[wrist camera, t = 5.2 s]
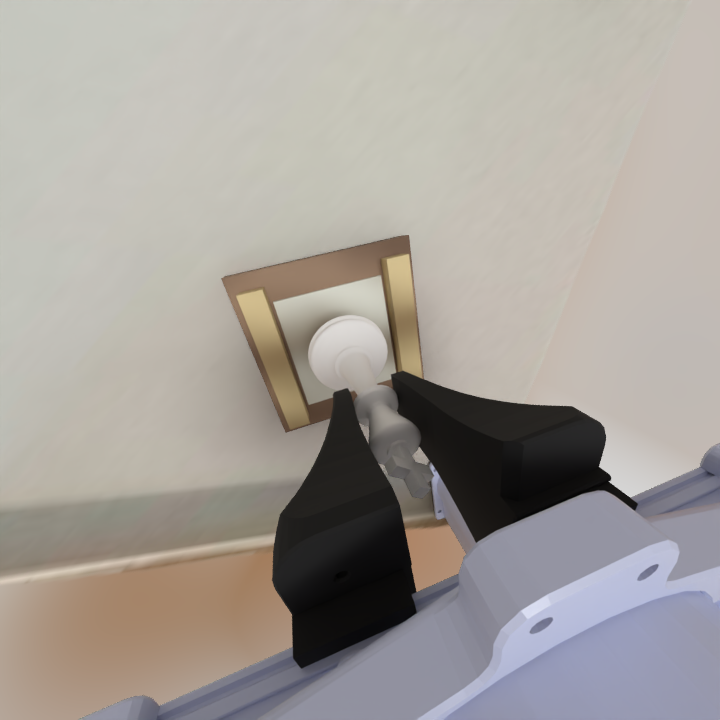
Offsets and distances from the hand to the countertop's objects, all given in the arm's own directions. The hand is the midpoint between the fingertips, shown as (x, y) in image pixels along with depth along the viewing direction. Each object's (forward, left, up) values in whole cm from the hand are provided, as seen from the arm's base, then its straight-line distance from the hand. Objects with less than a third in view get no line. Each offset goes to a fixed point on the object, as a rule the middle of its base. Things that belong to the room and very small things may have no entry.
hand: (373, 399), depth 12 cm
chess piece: (0, 0, -5) cm, 5 cm away
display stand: (0, 0, -9) cm, 9 cm away
